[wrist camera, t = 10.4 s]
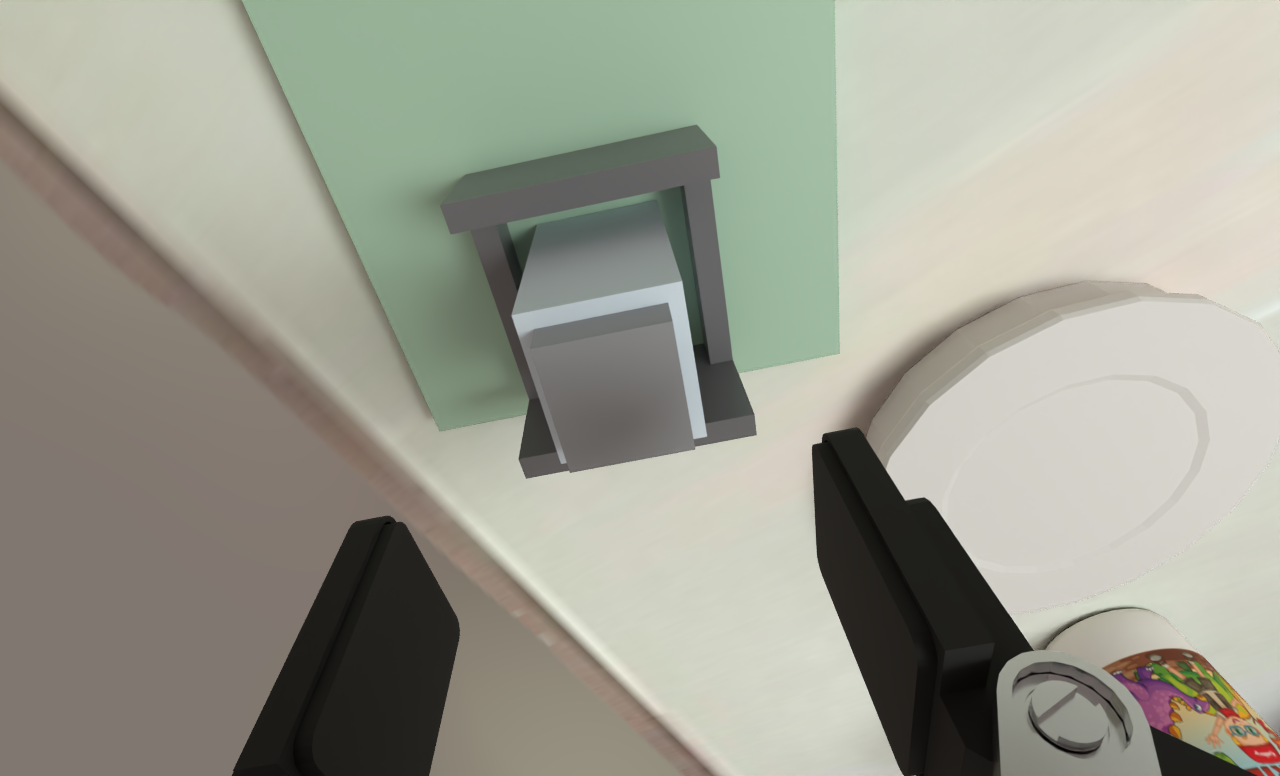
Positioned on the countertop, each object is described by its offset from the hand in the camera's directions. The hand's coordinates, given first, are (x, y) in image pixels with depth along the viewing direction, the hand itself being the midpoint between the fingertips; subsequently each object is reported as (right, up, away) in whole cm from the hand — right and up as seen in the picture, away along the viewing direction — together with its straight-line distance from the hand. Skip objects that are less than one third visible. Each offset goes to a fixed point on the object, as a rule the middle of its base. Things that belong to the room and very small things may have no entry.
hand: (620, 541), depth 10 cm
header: (-1, +7, +11) cm, 13 cm away
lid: (+19, -1, +19) cm, 27 cm away
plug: (-1, +7, +10) cm, 12 cm away
